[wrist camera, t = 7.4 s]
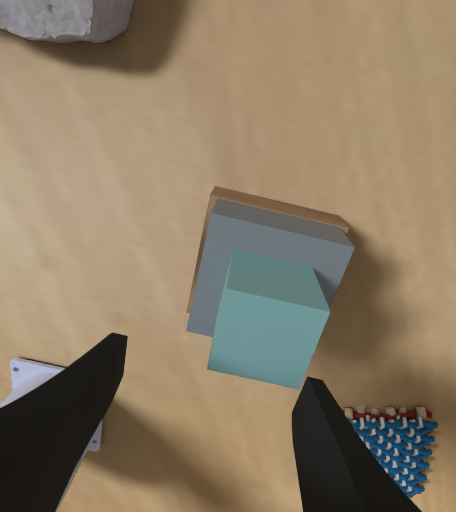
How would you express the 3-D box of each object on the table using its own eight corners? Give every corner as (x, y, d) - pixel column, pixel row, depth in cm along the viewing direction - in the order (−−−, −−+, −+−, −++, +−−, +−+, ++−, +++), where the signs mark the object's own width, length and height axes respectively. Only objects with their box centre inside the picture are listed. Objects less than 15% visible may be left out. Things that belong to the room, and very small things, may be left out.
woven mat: (296, 401, 27) (299, 422, 25) (428, 398, 26) (441, 419, 24) (299, 478, 31) (302, 501, 29) (413, 479, 30) (424, 503, 28)
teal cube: (289, 331, 17) (298, 389, 13) (217, 316, 17) (206, 369, 13) (312, 266, 16) (330, 311, 12) (232, 249, 15) (226, 288, 12)
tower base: (298, 314, 24) (304, 339, 21) (194, 289, 23) (186, 312, 21) (336, 213, 20) (349, 227, 18) (216, 184, 20) (210, 194, 17)
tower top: (300, 327, 20) (307, 359, 18) (195, 302, 20) (186, 331, 18) (339, 227, 18) (355, 247, 15) (217, 198, 18) (210, 212, 15)
